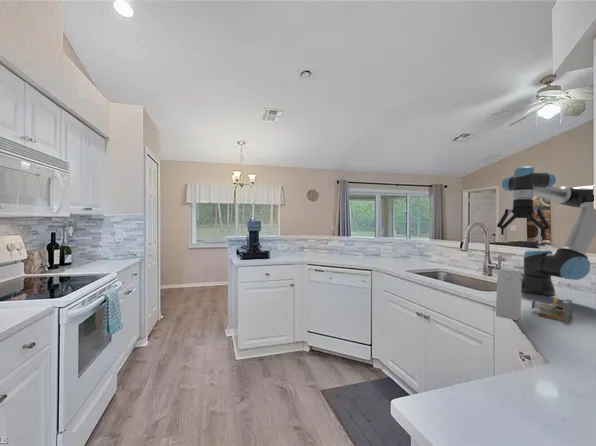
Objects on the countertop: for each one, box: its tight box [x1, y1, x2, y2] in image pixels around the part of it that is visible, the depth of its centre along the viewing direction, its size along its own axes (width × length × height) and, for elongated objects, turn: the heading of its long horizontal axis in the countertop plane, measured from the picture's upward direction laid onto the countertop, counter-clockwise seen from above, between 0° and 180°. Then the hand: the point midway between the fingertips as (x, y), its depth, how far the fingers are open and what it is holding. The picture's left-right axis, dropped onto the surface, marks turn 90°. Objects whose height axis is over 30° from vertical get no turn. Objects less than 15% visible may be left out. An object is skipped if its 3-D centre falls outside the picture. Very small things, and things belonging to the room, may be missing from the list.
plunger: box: [531, 297, 559, 310], centre depth 117 cm, size 4×8×6 cm, turn 37°
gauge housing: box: [537, 298, 573, 323], centre depth 115 cm, size 12×8×7 cm
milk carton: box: [495, 268, 522, 321], centre depth 113 cm, size 7×7×19 cm
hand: (521, 242), depth 135 cm, fingers open, 13 cm apart
